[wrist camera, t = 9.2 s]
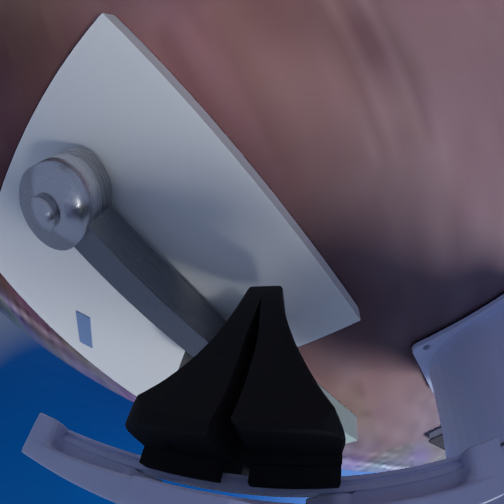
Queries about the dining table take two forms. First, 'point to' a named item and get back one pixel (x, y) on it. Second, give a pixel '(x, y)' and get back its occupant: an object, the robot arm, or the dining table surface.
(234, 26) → the dining table surface
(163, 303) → the crank
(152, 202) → the crank plate
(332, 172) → the dining table surface
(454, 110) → the dining table surface
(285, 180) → the dining table surface
